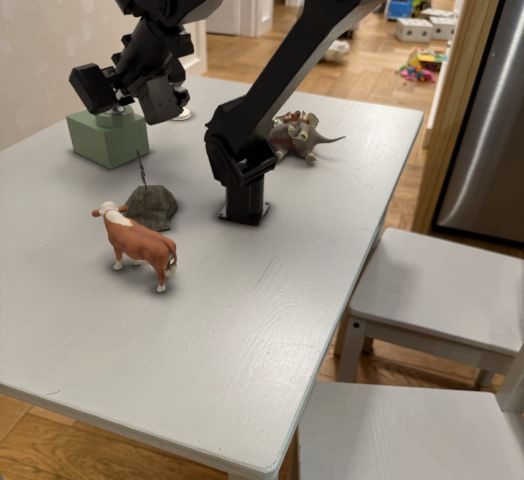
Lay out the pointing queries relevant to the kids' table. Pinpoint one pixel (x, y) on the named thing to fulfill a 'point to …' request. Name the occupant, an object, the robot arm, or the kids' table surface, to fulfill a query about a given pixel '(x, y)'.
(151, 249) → the bull figurine
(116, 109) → the flush button
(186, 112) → the chess piece
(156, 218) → the sword in stone
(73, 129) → the green push button box
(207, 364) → the kids' table surface
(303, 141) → the figurine
